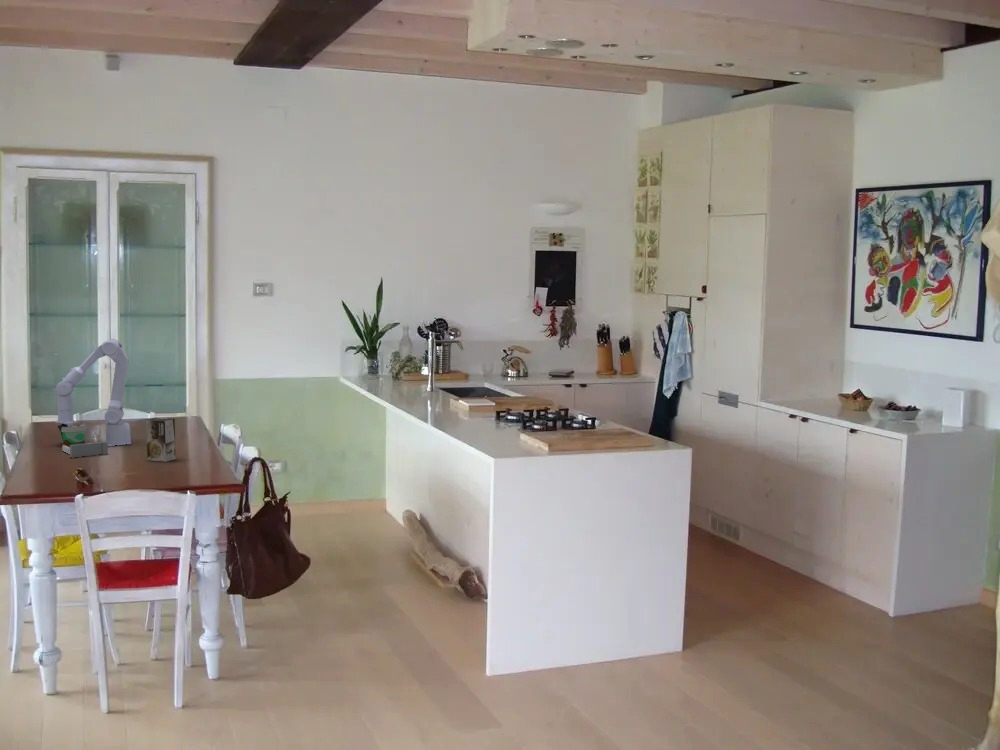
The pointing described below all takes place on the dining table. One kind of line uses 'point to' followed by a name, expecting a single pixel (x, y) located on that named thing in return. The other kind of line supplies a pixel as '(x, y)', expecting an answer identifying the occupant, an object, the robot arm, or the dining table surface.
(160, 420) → the coffee box
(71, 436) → the food container
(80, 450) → the grey flat tray
